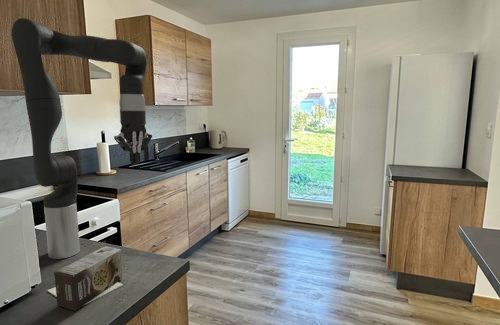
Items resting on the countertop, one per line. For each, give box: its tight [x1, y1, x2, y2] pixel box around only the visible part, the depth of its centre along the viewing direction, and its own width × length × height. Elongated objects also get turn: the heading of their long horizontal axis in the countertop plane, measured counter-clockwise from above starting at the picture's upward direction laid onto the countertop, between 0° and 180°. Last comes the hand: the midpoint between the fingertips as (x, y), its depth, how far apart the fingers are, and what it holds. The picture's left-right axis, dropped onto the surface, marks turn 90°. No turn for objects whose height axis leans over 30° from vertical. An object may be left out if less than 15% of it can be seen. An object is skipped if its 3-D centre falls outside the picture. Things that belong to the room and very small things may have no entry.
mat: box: [47, 281, 124, 307], centre depth 85 cm, size 14×13×1 cm
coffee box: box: [53, 246, 124, 311], centre depth 82 cm, size 9×6×16 cm
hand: (135, 164), depth 100 cm, fingers closed
